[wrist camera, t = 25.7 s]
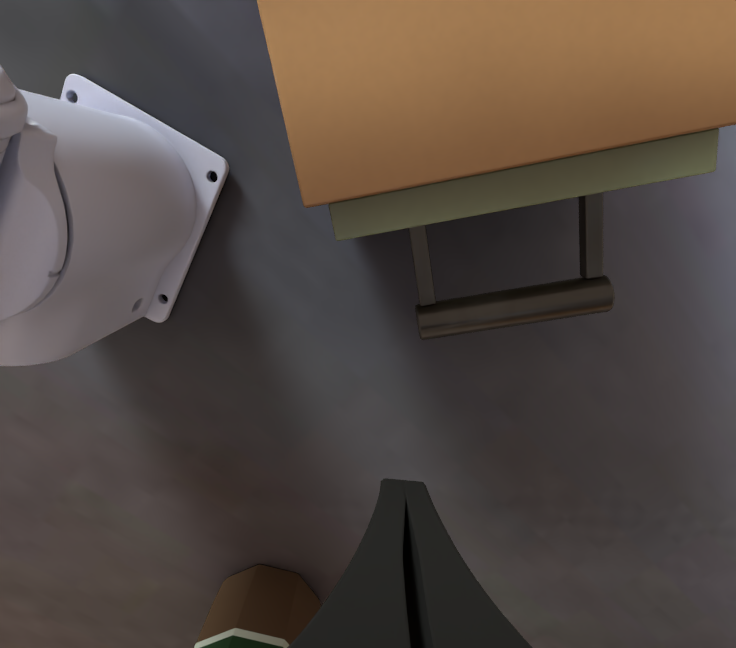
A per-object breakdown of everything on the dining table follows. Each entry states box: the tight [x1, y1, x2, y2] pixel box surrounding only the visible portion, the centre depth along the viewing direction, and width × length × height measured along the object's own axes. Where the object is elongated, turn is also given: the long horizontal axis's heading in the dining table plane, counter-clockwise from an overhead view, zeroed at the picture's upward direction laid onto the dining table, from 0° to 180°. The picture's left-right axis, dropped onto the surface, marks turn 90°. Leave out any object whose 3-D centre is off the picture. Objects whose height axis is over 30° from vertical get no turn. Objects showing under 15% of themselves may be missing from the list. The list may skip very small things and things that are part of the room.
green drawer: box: [329, 128, 719, 340], centre depth 14 cm, size 18×11×7 cm, turn 10°
